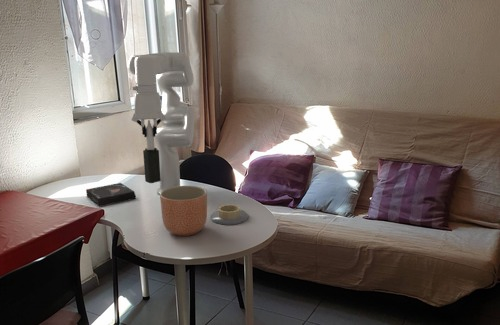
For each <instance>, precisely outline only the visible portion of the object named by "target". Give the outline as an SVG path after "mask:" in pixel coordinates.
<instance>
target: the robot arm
mask: <svg viewBox="0 0 500 325" xmlns="http://www.w3.org/2000/svg"><path fill="white" fill-rule="evenodd" d="M128 70H129V71H130V74H132V75H135V84H136V85H135V86H132V91H135V93H134V103H133V104H134V113H133V114H132V117H131V121H133V122H135V123H136V124H138V125H139V126H140V127H141V131H142V133H141V134H142V136H143V135H144V136H143V137H144V138H146V127H147V126H146V124H145V120H153V125H152V127H153V135H154V142H155V145H156V148H157V150H159V161H160V177H161V181H159V188H157V189H156V193H157V195H159V196H160V193H161V192H162V191H163V190H165V189H168V188H171V187H176V186H181V178H180V177H181V175H180V174H181V173H180V156H179V153H178V151H177V150H176V149H175V148H187V147H191V146H192V144H193V141H194V134H195V133H194V132H195V131H194V130H195V121H196V120H195V117H196V116H195V110H194V108H193V107H191V106H190V105H181V96H180V95H179V94H178V93H177V92H176V90H174V89H173V88H182V87H183V88H188V87H191V86H192V85H193V83H194V73H193V69H192V66H191V62H190V59H189V56H188V55H187V54H186V53H184V52H180V51H179V52H155V53H146V54H135V55H131V56H130V57H129V60H128ZM157 85H158V88H159V92H158V88H157ZM160 95H161V97H160ZM160 123H161V124H162V125H164V126H160V127H158V125H160Z"/></svg>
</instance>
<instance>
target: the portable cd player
mask: <svg viewBox="0 0 500 325" xmlns="http://www.w3.org/2000/svg"><path fill="white" fill-rule="evenodd" d="M85 192H86V197H87V198H88V199H89V200H90V201H91V202H93V203H94V204H95V205H96V206H97V207H103V206H107V205H112V204H117V203H122V202H125V201H130V200H131V201H132V200H135V199H136V197H137V196H136V192H135V191H134V190H133V189H131V188H130V187H128V186H126V185H124V184H123V183H122V182H117V183H112V184H107V185H102V186H97V187H91V188H87V189H86V190H85Z"/></svg>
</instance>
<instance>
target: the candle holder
mask: <svg viewBox="0 0 500 325" xmlns="http://www.w3.org/2000/svg"><path fill="white" fill-rule="evenodd" d="M248 217H249V214H248V212H247V211H244V210H242V209H241V207H240V206H239V205H237V204H232V203H231V204H223V205H220V206H218V207H217V210H215V211H213V212H212V213H211V214H210V220H211V221H212V222H213V223H215V224H219V225H223V226H235V225H239V224H243V223H244V222H246V221H247V220H248V219H249V218H248Z"/></svg>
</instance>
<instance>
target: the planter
mask: <svg viewBox="0 0 500 325" xmlns="http://www.w3.org/2000/svg"><path fill="white" fill-rule="evenodd" d="M207 191H208V190H207V189H205V188H203V187H201V186H197V185H180V186H176V187H171V188H168V189H165V190H163V191H162V192H161V193H160V195H159V198H160V207H161V208H160V209H161V219H162V224H163V226H164V227H165V229H166V230H167V231H168V232H169V233H171V234H173V235H174V236H177V237H188V236H193V235H195V234H198V233H199V232H201V230H203V228H205V225H206V223H207V218H208V192H207Z"/></svg>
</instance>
